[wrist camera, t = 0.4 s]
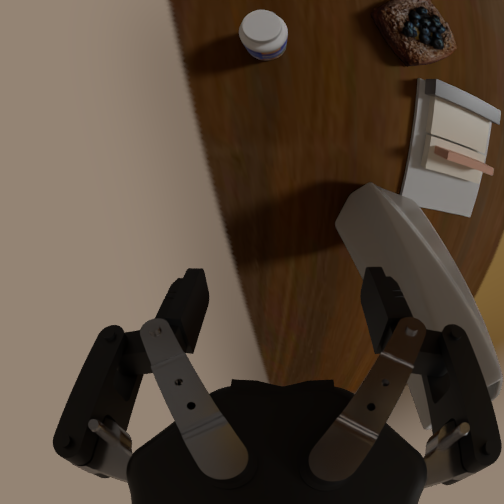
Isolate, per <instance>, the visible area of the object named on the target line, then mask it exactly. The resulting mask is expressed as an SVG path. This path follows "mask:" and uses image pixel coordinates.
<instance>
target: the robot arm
mask: <svg viewBox="0 0 504 504" xmlns="http://www.w3.org/2000/svg"><path fill="white" fill-rule="evenodd" d="M208 304H209V291H208V287H207V282H206V277H205V273H204V270H203V269H191V268H189V269H187V271H186V273H185V275H184V277H183V278H178V279H177V280H176V281H175V282H174V283H173V284H172V285H171V286H170V288H169V290H168V293H167V294H166V296H165V299H164V300H163V303H162V305H161V307H160V309H159V311H158V313H157V315H156V317H155V319H152V320H149V321H147V322H146V323H145V324H144V325H143V326H142V327H141V329H140V330H138V331H133V332H126V333H124V331H123V329H122V328H121V327H120V326H117V325H111V326H108V327H106V328H104V329H103V330H102V331H101V332H100V333H99V335H98V337H97V339H96V341H95V343H94V345H93V347H92V349H91V351H90V353H89V355H88V357H87V359H86V361H85V363H84V365H83V367H82V369H81V372H80V374H79V376H78V378H77V380H76V382H75V385H74V387H73V389H72V392H71V394H70V396H69V399H68V401H67V403H66V406H65V408H64V411H63V413H62V416H61V418H60V421H59V424H58V426H57V429H56V432H55V435H54V437H53V447H54V449H55V451H56V452H57V454H58V455H60V456H61V457H63V458H64V459H66V460H68V461H70V462H71V463H72V464H73V465H75V466H77V467H79V468H81V469H83V470H85V471H87V472H89V473H92V474H94V475H97V476H99V477H101V478H109V477H112V478H115V479H118V480H121V481H124V482H127V483H128V485H129V488H130V493H131V500H132V504H418V501H419V498H420V496H421V493H422V491H423V489H424V488H426V487H430V486H433V485H437V484H440V483H442V484H445V485H451V484H453V483H456V482H458V481H460V480H462V479H464V478H466V477H468V476H470V475H472V474H474V473H476V472H478V471H480V470H482V469H484V468H486V467H488V466H489V465H491V464H493V463H494V462H495V461H496V460H497V459H498V457H499V455H500V452H501V439H500V434H499V430H498V425H497V421H496V417H495V413H494V409H493V406H492V402H491V398H490V395H489V392H488V389H487V386H486V383H485V380H484V377H483V374H482V371H481V368H480V365H479V363H478V360H477V358H476V355H475V353H474V350H473V348H472V345H471V343H470V340H469V338H468V336H467V334H466V332H465V330H464V329H463V328H461V327H460V326H458V325H455V324H449V325H446V326H445V327H444V328H443V330H442V332H440V331H434V330H428V329H426V327H425V325H424V324H423V322H421V321H420V320H419V319H417V318H414V317H413V315H412V313H411V310H410V308H409V306H408V304H407V302H406V299H405V297H404V295H403V293H402V291H401V289H400V287H399V285H398V283H397V282H396V281H395V280H394V279H393V278H392V277H391V276H386V275H385V273H384V271H383V269H382V267H366V269H365V274H364V279H363V284H362V289H361V304H362V307H363V311H364V314H365V318H366V322H367V325H368V329H369V333H370V336H371V340H372V344H373V348H374V352H375V354H379V353H380V355H379V357H378V358H377V360H376V362H375V363H374V365H373V367H372V368H371V370H370V372H369V373H368V375H367V376H366V378H365V380H364V381H363V383H362V384H361V386H360V387H359V389H358V390H357V392H356V393H355V394H353V393H351V392H350V391H347V390H345V389H342V388H339V387H334V381H333V380H315V381H306V382H301V383H297V384H293V385H289V386H277V385H272V384H268V383H264V382H260V381H253V380H234V379H232V382H231V386H230V387H225V388H221V389H218V390H216V391H214V392H212V393H210V394H209V393H208V391H207V390H206V388H205V387H204V385H203V383H202V382H201V380H200V378H199V377H198V375H197V373H196V371H195V370H194V368H193V366H192V364H191V363H190V361H189V359H188V357H187V355H186V354H185V353H192V354H193V352H194V349H195V346H196V343H197V339H198V336H199V333H200V330H201V326H202V323H203V320H204V317H205V314H206V310H207V307H208ZM148 373H153V374H154V376H155V379H156V381H157V383H158V386H159V388H160V390H161V393H162V395H163V397H164V399H165V401H166V404H167V406H168V408H169V410H170V412H171V414H172V416H173V418H174V420H175V421H174V422H173V423H172V424H171V425H169V426H168V427H167V428H165V429H164V430H163V431H161V432H160V433H159V434H158V435H156V436H155V437H153V438H152V439H151V440H149V441H148V442H147V443H145V444H144V445H143V446H141V447H140V448H138V449H137V450H136V451H135V452H134V453H133V454H132V449H131V448H132V440H131V437H130V435H129V434H128V433H127V432H126V430H127V427H128V424H129V420H130V417H131V413H132V410H133V406H134V403H135V399H136V397H137V394H138V390H139V387H140V384H141V381H142V378H143V374H148ZM411 373H412V374H419V375H421V376H422V380H423V384H424V389H425V393H426V398H427V403H428V408H429V414H430V419H431V425H432V432H433V435H432V436H431V437H430V438H429V440H428V442H427V445H426V454H425V456H424V458H423V457H422V455H421V454H420V453H419V452H418V451H417V450H416V449H414V448H413V447H412V446H411V445H410V444H409V443H408V442H407V441H406V440H404V439H403V438H402V437H401V436H400V435H399V434H398V433H397V432H395V431H394V430H393V429H392V428H391V427H390V426H389V425H388V424H387V423H386V422H387V420H388V418H389V416H390V414H391V413H392V411H393V409H394V407H395V405H396V403H397V401H398V400H399V397H400V396H401V394H402V392H403V390H404V388H405V385H406V383H407V381H408V379H409V377H410V375H411Z"/></svg>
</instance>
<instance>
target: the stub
mask: <svg viewBox="0 0 504 504" xmlns="http://www.w3.org/2000/svg"><path fill="white" fill-rule="evenodd" d="M484 161H485V156H484V155H482V154H480V153H478V152H475V151H473V150H470V149H468V148H465V147H463V146H460V145H457V144H454V143H452V142H449V141H446V140H443V139H440V138H437V137H434V136H431V135H427V134H426V139H425V145H424V151H423V156H422V161H421V166H422V167H424V168H426V169H430V170H434V171H437V172H441V173H445V174H448V175H452V176H455V177H458V178H461V179H465V180H468V181H471V182H474V183H477V184H479V183H480V179H481V174H482V172H484V173H487V174H489V175H493V171H494V168H492V167H490V166H488V165H487V164H485V163H484Z"/></svg>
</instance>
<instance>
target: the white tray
mask: <svg viewBox="0 0 504 504" xmlns="http://www.w3.org/2000/svg"><path fill="white" fill-rule="evenodd" d="M500 115H501V111H500V110H498V109H496V108H495V107H493V106H491V105H489V104H488V103H486V102H484V101H482V100H480V99H478V98H477V97H475V96H473V95H471V94H469V93H467V92H465V91H462V90H460V89H458V88H456V87H454V86H452V85H449V84H447V83H445V82H442V81H440V80H438V79H426V80H423V79H420V78H418V79H417V92H416V103H415V112H414V120H413V127H412V134H411V141H410V147H409V153H408V158H407V164H406V169H405V174H404V178H403V183H402V187H401V192H400V195H402V196H404V197H407V198H409V199H412V200H413V201H415V202H416V203H417V205H418V206H419V207H424V208H429V209H434V210H439V211H444V212H449V213H453V214H458V215H462V216H467V217H470V216H471V213H472V210H473V207H474V203H475V200H476V197H477V193H478V189H479V185H480V183H479V184H477V183H474V182H471V181H468V180H465V179H461V178H458V177H455V176H452V175H448V174H445V173H441V172H437V171H434V170H430V169H426V168H424V167H422V166H421V161H422V156H423V151H424V145H425V139H426V134H427V135H431V136H434V137H437V138H440V139H443V140H446V141H449V142H452V143H454V144H457V145H460V146H463V147H465V148H468V149H470V150H473V151H475V152H478V153H480V154H482V155H484V156H485V160H486V155H487V149H488V144H489V137H490V131H491V123H495V124H498V125H499V124H500ZM484 163H485V161H484ZM482 173H483V172H482ZM481 178H482V174H481ZM480 182H481V179H480Z"/></svg>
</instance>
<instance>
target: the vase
mask: <svg viewBox="0 0 504 504" xmlns="http://www.w3.org/2000/svg"><path fill="white" fill-rule="evenodd" d="M335 227H336V229H337V231H338V233H339V235H340V237H341V238H342V240H343V242H344V244H345V246H346V248H347V250H348V251H349V253H350V255H351V257H352V259H353V261H354V263H355V265H356V267H357V269H358V271H359V273H360V275H361V277H362V279H364V274H365V269H366V267H382V269H383V271H384V273H385V275H386V276H391V277H392V278H393V279H394V280H395V281H396V282H397V283H398V285H399V287H400V289H401V291H402V293H403V295H404V297H405V299H406V302H407V304H408V306H409V308H410V310H411V313H412V315H413V317H414V318H417V319H419V320H420V321H421V322H423V324H424V325H425V327H426V329H428V330H434V331H440V332H442V330H443V328H444V327H445V326H446V325H449V324H455V325H458V326H460V327H461V328H463V329H464V330H465V332H466V334H467V336H468V338H469V340H470V343H471V345H472V348H473V350H474V353H475V355H476V358H477V360H478V363H479V365H480V368H481V371H482V374H483V377H484V380H485V383H486V386H487V389H488V392H489V395H490V398H491V401H493V400H494V399H495V398H496V397H497V396H498V395H499V393H500V390H501V386H502V382H503V376H502V372H501V368H500V365H499V361H498V358H497V355H496V352H495V349H494V347H493V344H492V341H491V338H490V336H489V333H488V331H487V328H486V325H485V323H484V321H483V318H482V316H481V314H480V311H479V309H478V307H477V305H476V302H475V300H474V298H473V296H472V294H471V292H470V290H469V288H468V286H467V284H466V282H465V280H464V278H463V276H462V274H461V273H460V271H459V269H458V267H457V265H456V264H455V262H454V260H453V258H452V257H451V255H450V253H449V251H448V250H447V248H446V246H445V245H444V243H443V242H442V240H441V238H440V237H439V235H438V234H437V232H436V231H435V229H434V227H433V226H432V224H431V223H430V221H429V220H428V219H427V217H426V216H425V214H424V213H423V211H422V210H421V209H420V207H419V206H418V205H417V203H416V202H415V201H413V200H412V199H409V198H407V197H404V196H402V195H399V194H396V193H394V192H391V191H388V190H386V189H383V188H380V187H378V186H376V185H375V184H373V183H372V182H369V183H367V184H365V185H364V186H362V187H360V188H359V189H357V190H355V191H354V192H352V193H351V194H350V195H349V197H348V198H347V200H346V202H345V204H344V206H343V208H342V210H341V212H340V214H339V216H338V218H337V220H336V222H335ZM407 384H408V386H409V389H410V392H411V395H412V397H413V400H414V403H415V406H416V409H417V412H418V415H419V418H420V421H421V423H422V426H423V428H424V429H426V430H428V429H432V425H431V419H430V414H429V408H428V403H427V398H426V393H425V389H424V384H423V380H422V376H421V375H419V374H412V373H411V375H410V377H409V379H408V381H407Z"/></svg>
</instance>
